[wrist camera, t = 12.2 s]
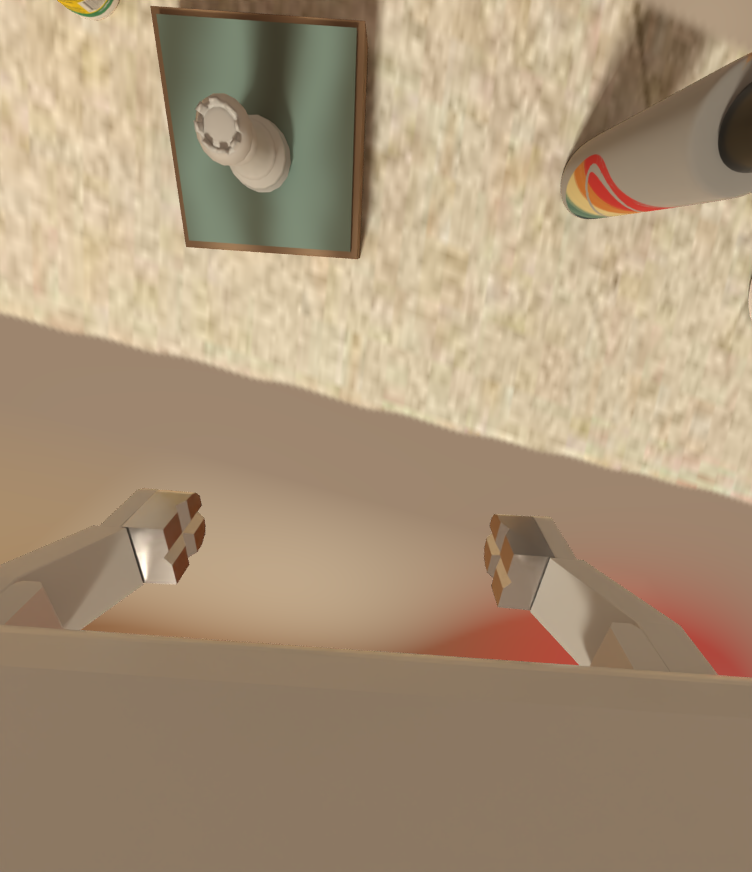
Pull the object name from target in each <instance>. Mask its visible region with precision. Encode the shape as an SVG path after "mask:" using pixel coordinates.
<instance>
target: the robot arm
mask: <svg viewBox="0 0 752 872" xmlns="http://www.w3.org/2000/svg"><path fill="white" fill-rule="evenodd" d="M749 313H750V317H751V320H752V281H751V285H750V290H749ZM201 506H202V504H201V499H200V495H198V494H197V493H193V492H182V491H172V490H158V489H146V488H142V489H138V490H137V491H136V492H135V493H133V495H132V496H130V497H129V498H128V499H127V500H126V501H125V502H124V503H123V504H122V505H121V506H120V507H119V508H118V509H117V510H115V511H114V513H112V515H110V516H109V517H108V518H107V519H106V520H105V521H104V522H103V523H102V524H101V525H100V526H91V527H88V528H86V529H84V530H81V531H79V532H77V533H74V534H72V535H70V536H67V537H65V538H62V539H60V540H58V541H55V542H53V543H51V544H49V545H46V546H44V547H41V548H39V549H36V550H34V551H32V552H30V553H27V554H25V555H22V556H20V557H18V558H15V559H13V560H11V561H8V562H6V563H3V564H1V565H0V872H752V678H748V677H734V676H720V675H718V674H717V673H716V672H715V670H714V669H713V668H712V666H711V665H710V664H709V663H708V661H707V660H706V659H705V657H704V656H703V655H702V654H701V652H700V651H699V650H698V648H697V647H696V646H695V644H694V643H693V642H692V641H691V639H690V638H689V637H688V635H687V634H686V633H685V631H684V630H683V629H682V627H681V626H679V625H678V624H677V623H675V622H674V621H672V620H671V619H669V618H668V617H666V616H665V615H664V614H662V613H661V612H659V611H657V610H656V609H655V608H653V607H652V606H650V605H648V604H647V603H646V602H644V601H643V600H641V599H640V598H638V597H637V596H635V595H634V594H633V593H631V592H630V591H628V590H627V589H625V588H624V587H622V586H621V585H619V584H618V583H616V582H615V581H613V580H612V579H610V578H609V577H607V576H606V575H604V574H603V573H602V572H600V571H599V570H597V569H596V568H594V567H593V566H591V565H590V564H588V563H587V562H585V561H584V560H577V558H576V557H575V555H574V554H573V552H572V550H571V549H570V547H569V545H568V544H567V542H566V540H565V539H564V537H563V536H562V534H561V532H560V530H559V529H558V528H557V526H556V524H555V522H554V521H553V519H552V518H550V517H548V516H517V515H501V514H494V515H493V517H492V518H491V522H490V529H491V531H492V534H491V535H489V536H488V537H487V538H486V542H485V546H484V561H485V567H486V570H487V573H488V574H489V575H490V576H491V577H493V581H492V585H491V587H492V590H493V593H494V597H495V600H496V603H497V606H498V607H503V608H513V609H523V610H531V611H530V612H531V613H532V614H533V615H534V616H535V617H536V618H537V620H538V621H540V623H541V624H542V625H543V626H544V627H545V628H546V629H547V630H548V631H549V632H550V634H551V635H552V636H553V637H554V638H555V639H556V640H557V641H558V642H559V643H560V644H561V646H562V647H563V648H564V649H565V650H566V651H567V652H568V653H569V654H570V655H571V656H572V657H573V659H574V660H575V661H576V662H577V663H578V664H579V665H580V666H578V665H565V664H550V663H536V662H522V661H521V662H520V661H508V660H493V659H479V658H465V657H451V656H436V655H423V654H410V653H395V652H381V651H368V650H353V649H339V648H324V647H311V646H297V645H283V644H269V643H254V642H240V641H226V640H212V639H197V638H183V637H168V636H155V635H141V634H127V633H112V632H98V631H85V630H81V629H82V628H84V627H85V626H86V625H88V624H89V623H91V622H92V621H93V620H95V619H96V618H98V617H99V616H100V615H102V614H103V613H104V612H106V611H107V610H109V609H110V608H112V607H113V606H114V605H116V604H117V603H118V602H120V601H121V600H123V599H124V598H125V597H127V596H128V595H130V594H131V593H133V592H134V591H135V590H137V589H138V588H139V587H141V586H142V585H143V583H159V584H177V583H178V582H179V580H180V578H181V577H182V575H183V574H184V572H185V571H186V569H187V567H188V566H189V560H188V557H190V556H192V555H193V554H195V553H196V552H198V550H199V548H200V547H201V545H202V543H203V539H204V536H205V527H206V526H205V519H204V517H203V516H202V515H201V514H200V513H199V512H198V510H199V509H200V507H201Z"/></svg>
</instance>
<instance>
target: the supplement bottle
mask: <svg viewBox="0 0 752 872" xmlns="http://www.w3.org/2000/svg"><path fill="white" fill-rule="evenodd" d="M57 1H59V2H60V3H61V4H63V5H64V6H65V7H66V8H68V9H69V10H71V11H72V12H73V13H75V14H77V15H78V16H80V17H82V18H85V19H89V20H101V19H104V18H106V17H108V16H109V15H111V14H112V13H113V12H114V10H115V9H116V7H117V5H118V3H119V0H57Z"/></svg>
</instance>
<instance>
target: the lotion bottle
mask: <svg viewBox="0 0 752 872" xmlns="http://www.w3.org/2000/svg"><path fill="white" fill-rule="evenodd" d="M750 193H752V53H749V54H747V55H745V56H743V57H741V58H739V59H737V60H736V61H734V62H732V63H730V64H728V65H726V66H724V67H722V68H720V69H719V70H717V71H715V72H713V73H711V74H709V75H708V76H706V77H704V78H702V79H700V80H698V81H697V82H695V83H693V84H691V85H689V86H687V87H686V88H684V89H682V90H680V91H678V92H676V93H675V94H673V95H671V96H669V97H667V98H665V99H664V100H662V101H660V102H658V103H656V104H654V105H653V106H651V107H649V108H647V109H645V110H643V111H642V112H640V113H638V114H636V115H634V116H632V117H631V118H629V119H627V120H625V121H623V122H621V123H620V124H618V125H616V126H614V127H612V128H610V129H609V130H607V131H605V132H603V133H601V134H599V135H598V136H596V137H594V138H592V139H591V140H589V141H588V142H586V143H585V144H584V145H582V146H581V147H580V148H579V149H578V150H577V151H576V152H575V153H574V154H573V156H572V157H571V158H570V160H569V161H568V163H567V165H566V167H565V169H564V172H563V175H562V179H561V197H562V200H563V203H564V205H565V207H566V208H567V210H568V211H569V212H570V213H572V214H573V215H575V216H577V217H579V218H583V219H597V218H605V217H612V216H619V215H626V214H633V213H640V212H647V211H654V210H661V209H668V208H675V207H681V206H688V205H695V204H702V203H709V202H715V201H721V200H727V199H732V198H737V197H741V196H744V195H747V194H750Z"/></svg>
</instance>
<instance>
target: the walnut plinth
mask: <svg viewBox="0 0 752 872" xmlns="http://www.w3.org/2000/svg"><path fill="white" fill-rule="evenodd" d="M150 7H151V13H152V20H153V27H154V34H155V40H156V47H157V54H158V60H159V67H160V74H161V81H162V87H163V94H164V101H165V108H166V114H167V121H168V128H169V134H170V141H171V148H172V155H173V161H174V168H175V175H176V181H177V188H178V195H179V202H180V208H181V215H182V222H183V229H184V235H185V242H186V247H194V248H208V249H222V250H236V251H251V252H265V253H279V254H293V255H307V256H321V257H335V258H349V259H358V258H360V240H361V214H362V189H363V163H364V138H365V112H366V87H367V61H368V43H367V34H366V24H365V21H358V20H344V19H329V18H315V17H301V16H286V15H272V14H258V13H244V12H229V11H215V10H201V9H186V8H172V7H158V6H150ZM216 93H225V94H227V95H229V96H231V97H233V98H235V99H236V100H237V101H238V102H239V103H240V104H241V105H242V106H243V108H244V109H245V110H246V112H247V114H248V115H259V116H261V117H263V118H265V119H268V120H270V121H271V122H272V123H274V124H275V125H276V126H277V128H278V129H279V130H280V131H281V132H282V133H283V134H284V137H285V139H286V141H287V144H288V146H289V149H290V160H291V164H290V168H289V172H288V177H287V178H286V179H285V181H284V182H283V184H282V185H281V186H280V187H279V188H277V189H275V190H273V191H271V192H257V191H254V190H252V189H250V188H248V187H246V186H245V185H244V184H242V182H241V181H240V180H239V179H238V178H237V177H236V176H235V175H234V174H233V172H232V170H231V168H230V166H229V165H225V166H224V165H222V164H219V163H217V162H215V161H213V160H212V159H211V158H210V157H209V156H208V155H207V154H206V153H205V152H204V151H203V149H202V147H201V145H200V143H199V141H198V139H197V134H196V132H195V126H194V121H193V120H195V118H196V111H197V110H195V108H196V107H197V105H198V103H199V102H200V101H201V102H202V100H203V99H205V98H206V97H208V96H210V95H211V94H216Z"/></svg>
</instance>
